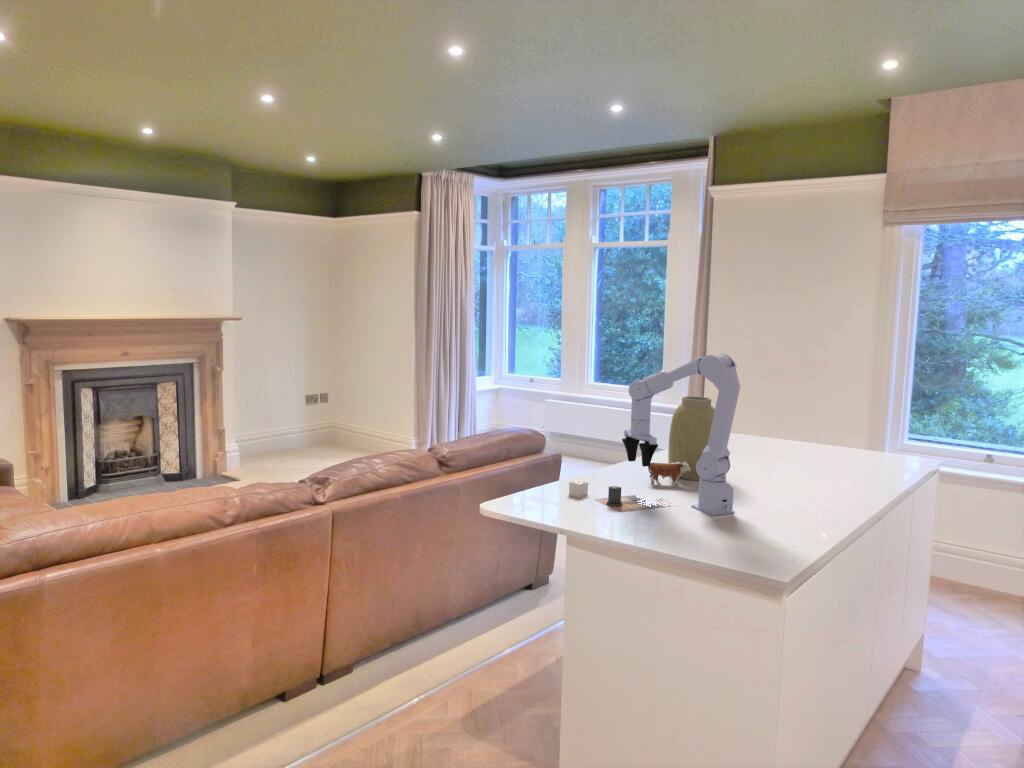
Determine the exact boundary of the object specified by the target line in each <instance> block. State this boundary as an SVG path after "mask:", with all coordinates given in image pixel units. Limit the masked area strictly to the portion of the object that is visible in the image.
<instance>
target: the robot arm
mask: <svg viewBox="0 0 1024 768" xmlns="http://www.w3.org/2000/svg"><path fill="white" fill-rule="evenodd" d="M695 374H696V375H702V376H703V377H704V378H705V379H707V380H708V381H709V382H711V383H713V385H714V386H715V387H716V388H717V390H718V395H717V399H716V404H715V407H714V409H715V412H714V416H713V421H712V426H711V430H710V435H709V440H708V444H707V446H706V447H705V449H704V450H703V452H702V455H701V458H700V459H699V460H698V462H697V464H696V472H697V474H698V475H699V476H700V478H699V480H698V483H699V484H698V498H697V499H698V500H697V501H698V502H697V504H692V505H691V508H694V509H696V510H698V511H702V512H703V513H706V514H707V515H708V514H709V515H711V516H718V515H725V514H727V515H728V514H735V512H736V511H735V510H733V505H734V488H733V487H732V485H730V484H729V483H728V482H727V476H726V474H728V473H729V471H730V469H731V461H730V455H731V451H729V449H728V445H729V440H730V435H731V433H732V427H733V426H732V425H733V421H734V419H735V418H734V417H735V412H736V408H737V404H738V399H739V394H740V390H741V384H740V380H739V377H738V372H737V363H736V362H735V361H734V360H733V358H732V357H731V356H730V355H728V354H725V353H721V354H715V355H714V354H707V355H706V354H705V355H704V356H701V357H697V358H695V359H692V360H690V361H688V362H687V363H684V364H682V365H681V366H678V367H676V368H675V369H672V370H671V371H668V370H666V369H657V370H655V373H653V374H651V375H649V376H648V375H645V376H643V377H642V380H639V379H638V380H637V379H636V380H634V381H633V382H631V383H630V384H629V386H628V394H629V396H630V397H631V413H630V429H625V430H623V436H624V438H622V439H621V442H622V443H623V445H624V448H625V452H626V456H627V460H628V462H636V460H637V454H638V453H637V451H638V448H639V449H640V452H641V453H640V454H641V466H642V467H648V466H650V463H652V462H651V461H652V459H653V456H654V454H655V452H656V450H657V448H658V447H659V444H658V443H657V439H658V438H657V437H655V436H653V435H652V434H650V432H651V430H650V429H651V412H652V411H651V405H652V398H653V397H654V396H655V395H657V394H659V393H663V392H664V391H666V390H669V389H672V388H673V386H674V384H675V382H677V381H680V380H682V379H685V378H687V377H690V376H692V375H695ZM640 441H641V442H640ZM638 446H639V447H638Z"/></svg>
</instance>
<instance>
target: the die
mask: <svg viewBox="0 0 1024 768" xmlns="http://www.w3.org/2000/svg"><path fill="white" fill-rule="evenodd" d="M568 483H569V484H568V485H569V486H568V495H569V496H572V495H573V497H576V496H577V498H581V497H583V496H586V495H588V493H589V482H588V481H584V480H579V479H577V480H571V481H569V482H568Z"/></svg>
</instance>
